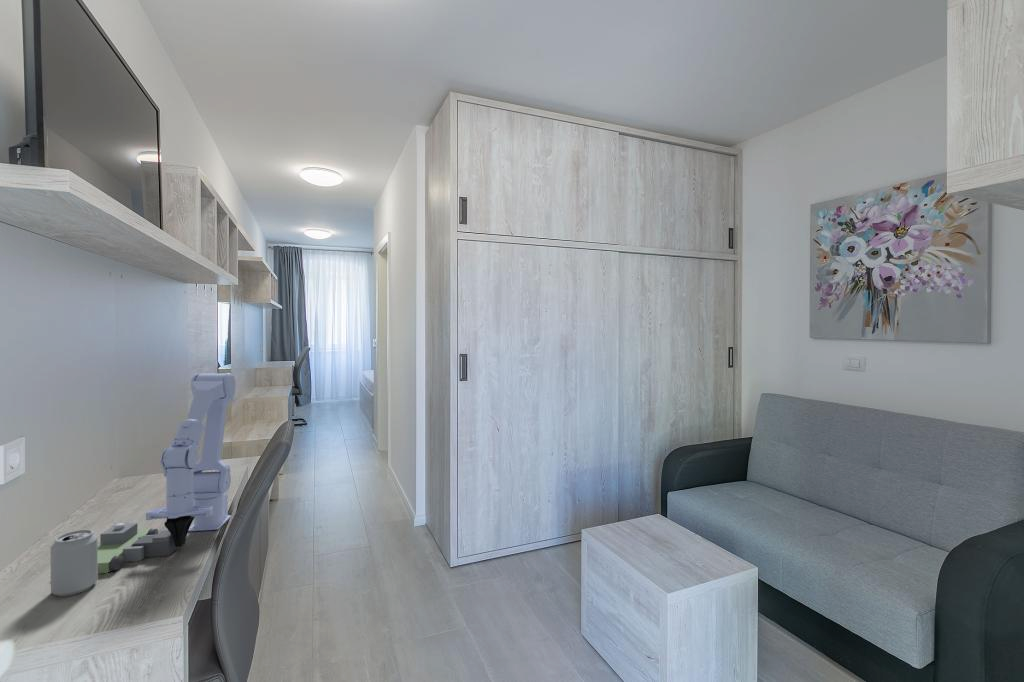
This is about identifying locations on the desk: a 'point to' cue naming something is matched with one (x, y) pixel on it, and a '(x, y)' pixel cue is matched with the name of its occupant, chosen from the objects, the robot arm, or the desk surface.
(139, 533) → the deck
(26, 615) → the desk surface
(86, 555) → the can
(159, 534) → the grey rectangular box
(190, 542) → the desk surface
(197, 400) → the robot arm
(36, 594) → the desk surface
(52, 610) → the desk surface
